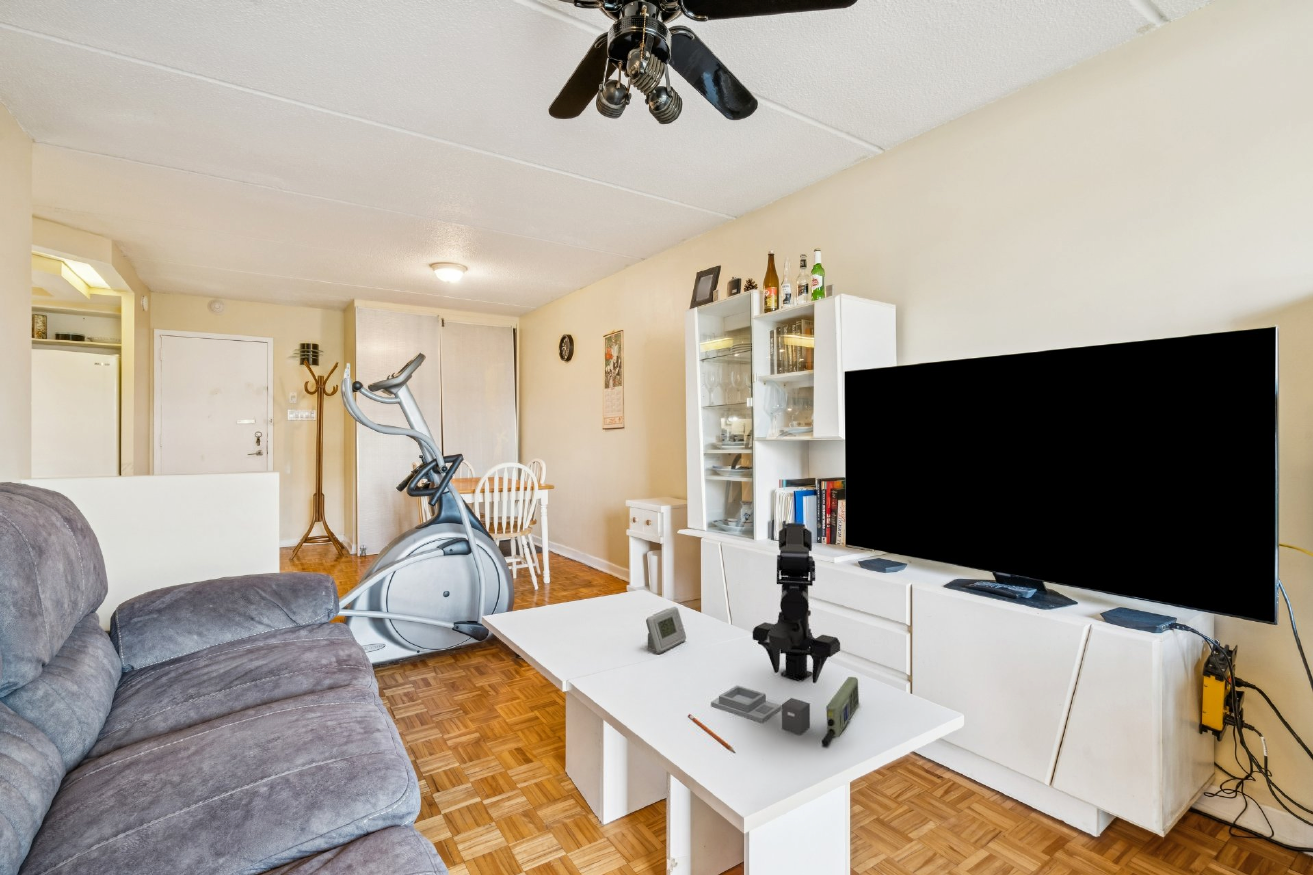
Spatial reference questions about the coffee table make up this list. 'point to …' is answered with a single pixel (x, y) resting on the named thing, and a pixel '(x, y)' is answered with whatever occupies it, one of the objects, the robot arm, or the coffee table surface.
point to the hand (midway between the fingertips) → (795, 677)
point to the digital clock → (665, 630)
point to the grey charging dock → (746, 704)
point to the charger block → (795, 716)
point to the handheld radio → (841, 708)
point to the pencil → (711, 733)
